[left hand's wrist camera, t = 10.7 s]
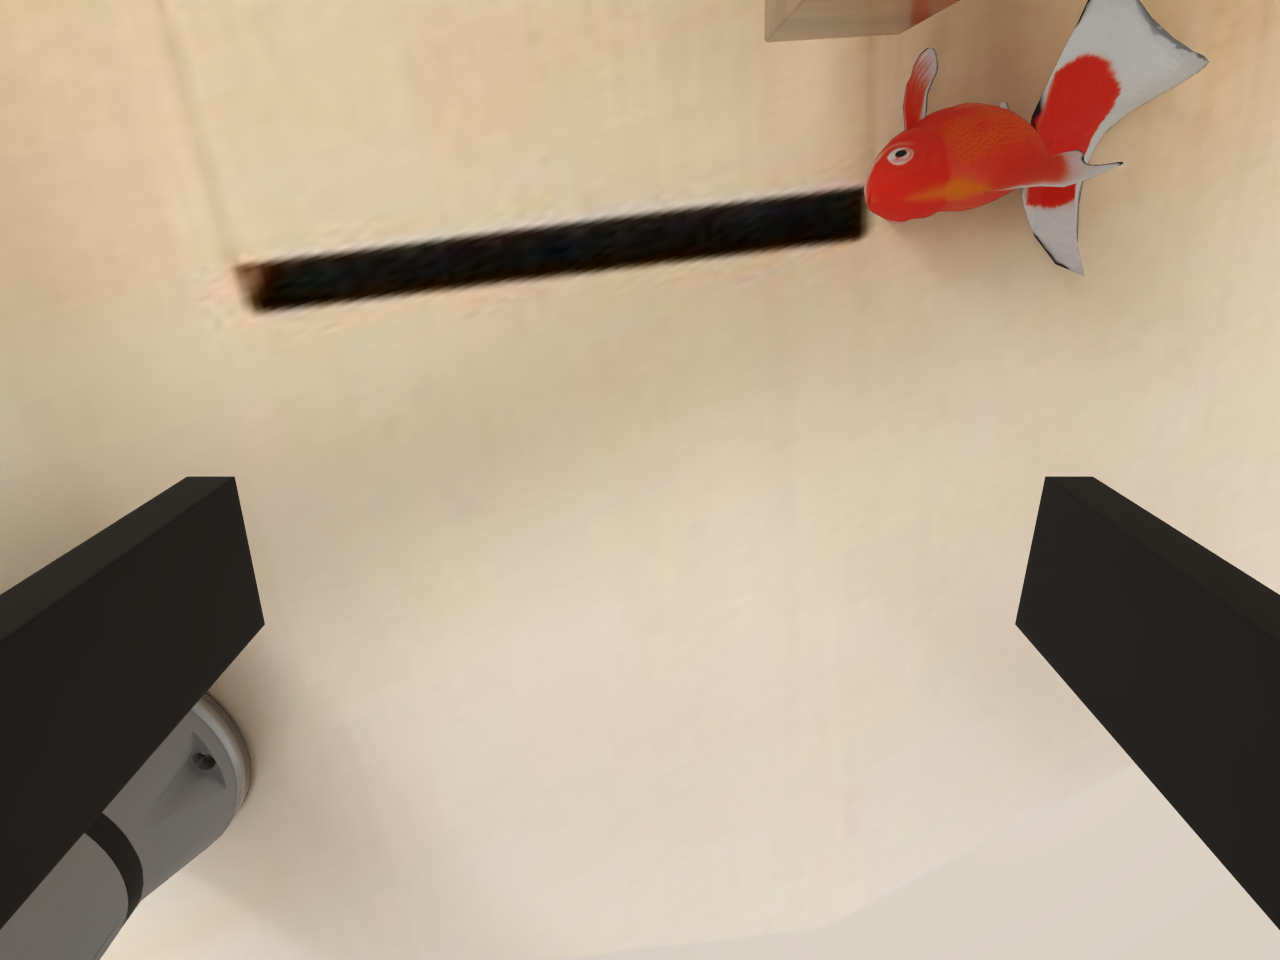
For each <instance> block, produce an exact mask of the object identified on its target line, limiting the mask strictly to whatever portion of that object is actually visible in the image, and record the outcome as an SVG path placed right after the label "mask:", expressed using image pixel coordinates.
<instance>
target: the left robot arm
mask: <svg viewBox="0 0 1280 960" xmlns="http://www.w3.org/2000/svg"><path fill="white" fill-rule="evenodd" d="M264 624H265V623H264V618H263V613H262V608H261V604H260V599H259V594H258V589H257V584H256V579H255V574H254V569H253V564H252V560H251V555H250V550H249V545H248V540H247V535H246V530H245V525H244V520H243V516H242V511H241V506H240V501H239V496H238V491H237V486H236V481H235V477H186V478H184V479H183V480H181V481H180V482H178V483H177V484H175V485H173V486H172V487H170V488H169V489H167V490H165V491H164V492H162V493H161V494H159V495H158V496H156V497H154V498H153V499H151V500H150V501H148V502H147V503H145V504H143V505H142V506H140V507H139V508H137V509H135V510H134V511H132V512H131V513H129V514H128V515H126V516H124V517H123V518H121V519H120V520H118V521H116V522H115V523H113V524H112V525H110V526H109V527H107V528H105V529H104V530H102V531H101V532H99V533H98V534H96V535H94V536H93V537H91V538H90V539H88V540H86V541H85V542H83V543H82V544H80V545H79V546H77V547H75V548H74V549H72V550H71V551H69V552H67V553H66V554H64V555H63V556H61V557H60V558H58V559H56V560H55V561H53V562H52V563H50V564H48V565H47V566H45V567H44V568H42V569H41V570H39V571H37V572H36V573H34V574H33V575H31V576H30V577H28V578H26V579H25V580H23V581H22V582H20V583H18V584H17V585H15V586H14V587H12V588H11V589H9V590H7V591H6V592H4V593H3V594H1V595H0V960H100V959H101V957H102V956H103V954H104V953H105V951H106V950H107V948H108V947H109V946H110V944H111V943H112V941H113V940H114V938H115V937H116V935H117V934H118V932H119V931H120V929H121V928H122V927H123V925H124V924H125V922H126V921H127V919H128V918H129V917H130V915H131V914H132V912H133V911H134V909H135V908H136V907H137V905H138V904H139V903H140V901H141V900H142V899H144V898H145V897H146V896H147V895H149V894H150V893H151V892H152V891H154V890H155V889H156V888H158V887H159V886H160V885H161V884H163V883H164V882H165V881H166V880H168V879H169V878H170V877H171V876H173V875H174V874H175V873H176V872H178V871H179V870H180V869H181V868H183V867H184V866H185V865H186V864H188V863H189V862H190V861H191V860H193V859H194V858H195V857H196V856H198V855H199V854H200V853H201V852H203V851H204V850H205V849H206V848H208V847H209V846H210V845H211V844H212V843H213V842H214V841H215V840H217V839H218V838H219V837H220V836H221V835H222V833H223V832H224V831H225V830H226V828H227V827H228V825H229V824H230V822H231V821H232V819H233V818H234V816H235V815H236V813H237V812H238V810H239V808H240V807H241V805H242V803H243V802H244V799H245V797H246V795H247V791H248V788H249V783H250V762H249V756H248V752H247V749H246V746H245V743H244V741H243V739H242V737H241V735H240V733H239V731H238V729H237V727H236V726H235V724H234V723H233V721H232V720H231V719H230V717H229V716H228V715H227V713H226V712H225V711H224V710H223V709H222V708H221V707H220V706H219V705H218V704H217V703H216V702H215V701H214V700H213V699H212V698H211V697H210V696H209V695H207V694H206V692H207V690H208V689H209V688H210V687H211V686H212V685H213V683H214V682H215V681H216V680H217V679H218V678H219V677H220V675H221V674H222V673H223V672H224V671H225V670H226V668H227V667H228V666H229V665H230V664H231V663H232V661H233V660H234V659H235V658H236V657H237V656H238V655H239V653H240V652H241V651H242V650H243V649H244V648H245V646H246V645H247V644H248V643H249V642H250V641H251V640H252V638H253V637H254V636H255V635H256V634H257V633H258V631H259V630H260V629H261V628H262V627H263V626H264ZM1015 624H1016V626H1017V627H1018V628H1019V629H1020V630H1021V631H1022V633H1023V634H1024V635H1025V636H1026V637H1027V638H1028V640H1029V641H1030V642H1031V643H1032V644H1033V645H1034V646H1035V648H1036V649H1037V650H1038V651H1039V652H1040V653H1041V655H1042V656H1043V657H1044V658H1045V659H1046V660H1047V661H1048V663H1049V664H1050V665H1051V666H1052V667H1053V668H1054V670H1055V671H1056V672H1057V673H1058V674H1059V675H1060V677H1061V678H1062V679H1063V680H1064V681H1065V682H1066V683H1067V685H1068V686H1069V687H1070V688H1071V689H1072V690H1073V692H1074V693H1075V694H1076V695H1077V696H1078V697H1079V698H1080V700H1081V701H1082V702H1083V703H1084V704H1085V705H1086V707H1087V708H1088V709H1089V710H1090V711H1091V712H1092V714H1093V715H1094V716H1095V717H1096V718H1097V719H1098V720H1099V722H1100V723H1101V724H1102V725H1103V726H1104V727H1105V729H1106V730H1107V731H1108V732H1109V733H1110V734H1111V735H1112V737H1113V738H1114V739H1115V740H1116V741H1117V742H1118V744H1119V745H1120V746H1121V747H1122V748H1123V749H1124V751H1125V752H1126V753H1127V754H1128V755H1129V756H1130V757H1131V759H1132V760H1133V761H1134V762H1135V763H1136V764H1137V766H1138V767H1139V768H1140V769H1141V770H1142V771H1143V772H1144V774H1145V775H1146V776H1147V777H1148V778H1149V779H1150V781H1151V782H1152V783H1153V784H1154V785H1155V786H1156V787H1157V789H1158V790H1159V791H1160V792H1161V793H1162V794H1163V796H1164V797H1165V798H1166V799H1167V800H1168V801H1169V803H1170V804H1171V805H1172V806H1173V807H1174V808H1175V809H1176V811H1177V812H1178V813H1179V814H1180V815H1181V816H1182V818H1183V819H1184V820H1185V821H1186V822H1187V823H1188V824H1189V826H1190V827H1191V828H1192V829H1193V830H1194V831H1195V833H1196V834H1197V835H1198V836H1199V837H1200V838H1201V839H1202V841H1203V842H1204V843H1205V844H1206V845H1207V846H1208V848H1209V849H1210V850H1211V851H1212V852H1213V853H1214V854H1215V856H1216V857H1217V858H1218V859H1219V860H1220V861H1221V863H1222V864H1223V865H1224V866H1225V867H1226V868H1227V870H1228V871H1229V872H1230V873H1231V874H1232V875H1233V877H1234V878H1235V879H1236V880H1237V881H1238V882H1239V883H1240V885H1241V886H1242V887H1243V888H1244V889H1245V890H1246V892H1247V893H1248V894H1249V895H1250V896H1251V897H1252V898H1253V900H1254V901H1255V902H1256V903H1257V904H1258V905H1259V907H1260V908H1261V909H1262V910H1263V911H1264V912H1265V914H1266V915H1267V916H1268V917H1269V918H1270V919H1271V920H1272V922H1273V923H1274V924H1275V925H1276V926H1277V927H1278V929H1279V930H1280V595H1279V594H1277V593H1276V592H1274V591H1273V590H1271V589H1269V588H1268V587H1266V586H1265V585H1263V584H1262V583H1260V582H1258V581H1257V580H1255V579H1254V578H1252V577H1250V576H1249V575H1247V574H1246V573H1244V572H1243V571H1241V570H1239V569H1238V568H1236V567H1235V566H1233V565H1232V564H1230V563H1228V562H1227V561H1225V560H1224V559H1222V558H1220V557H1219V556H1217V555H1216V554H1214V553H1213V552H1211V551H1209V550H1208V549H1206V548H1205V547H1203V546H1201V545H1200V544H1198V543H1197V542H1195V541H1194V540H1192V539H1190V538H1189V537H1187V536H1186V535H1184V534H1182V533H1181V532H1179V531H1178V530H1176V529H1175V528H1173V527H1171V526H1170V525H1168V524H1167V523H1165V522H1164V521H1162V520H1160V519H1159V518H1157V517H1156V516H1154V515H1152V514H1151V513H1149V512H1148V511H1146V510H1145V509H1143V508H1141V507H1140V506H1138V505H1137V504H1135V503H1133V502H1132V501H1130V500H1129V499H1127V498H1126V497H1124V496H1122V495H1121V494H1119V493H1118V492H1116V491H1115V490H1113V489H1111V488H1110V487H1108V486H1107V485H1105V484H1103V483H1102V482H1100V481H1099V480H1097V479H1096V478H1094V477H1045V481H1044V486H1043V491H1042V496H1041V501H1040V506H1039V511H1038V516H1037V520H1036V525H1035V530H1034V535H1033V540H1032V545H1031V550H1030V555H1029V560H1028V564H1027V569H1026V574H1025V579H1024V584H1023V589H1022V594H1021V599H1020V604H1019V608H1018V613H1017V618H1016V623H1015Z"/></svg>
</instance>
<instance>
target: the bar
mask: <svg viewBox="0 0 1280 960" xmlns="http://www.w3.org/2000/svg"><path fill="white" fill-rule="evenodd" d="M957 1H959V0H765V41H766V42H778V41H794V40H811V39H827V38H844V37H861V36H877V35H894V34H900V33H902V32H904V31H906V30H907V29H909V28H911V27H913V26H915V25H916V24H918V23H920V22H922V21H923V20H925V19H927V18H929V17H931V16H932V15H934V14H936V13H938V12H940V11H941V10H943V9H945V8H947V7H948V6H950V5H952V4H954V3H956V2H957Z"/></svg>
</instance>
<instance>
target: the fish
mask: <svg viewBox="0 0 1280 960" xmlns="http://www.w3.org/2000/svg"><path fill="white" fill-rule="evenodd" d="M1208 62H1209V61H1208V60H1207V59H1206V58H1205V57H1204V56H1203V55H1201V54H1198V53H1196V52H1194V51H1192V50H1191V49H1189V48H1188V47H1186V46H1185V45H1183V44H1182V43H1180V42H1179V41H1177V40H1176V39H1174V38H1173V37H1172V36H1171V35H1170V34H1169V33H1168V32H1167V31H1166V30H1164V29H1163V28H1162V27H1161V26H1160V25H1159V24H1158V23H1157V22H1156V21H1155V20H1154V19H1153V18H1152V17H1151V16H1150V15H1149V13H1148V12H1147V10H1146V9H1145V8H1144V6H1143V5H1142V3H1141V2H1140V1H1139V0H1088V2H1087V4H1086V6H1085V8H1084V10H1083V13H1082V15H1081V17H1080V19H1079V22H1078V23H1077V25H1076V27H1075V29H1074V31H1073V33H1072V35H1071V37H1070V39H1069V40H1068V42H1067V44H1066V46H1065V48H1064V50H1063V52H1062V54H1061V56H1060V58H1059V60H1058V62H1057V64H1056V67H1055V69H1054V71H1053V73H1052V75H1051V77H1050V79H1049V81H1048V83H1047V85H1046V88H1045V90H1044V92H1043V94H1042V96H1041V98H1040V100H1039V103H1038V105H1037V107H1036V109H1035V111H1034V113H1033V115H1032V120H1031V125H1030V124H1029V123H1028V122H1026V121H1025V120H1024V119H1022V118H1021V117H1019V116H1018V115H1016V114H1015V113H1013V112H1011V111H1010V110H1009V109H1008V105H1007V102H1002V103H1001V105H1000V107H997V106H992V105H986V104H978V103H966V104H960V105H957V106H953V107H949V108H945V109H942V110H939V111H936V112H934V113H931V114H929V115H927V116H926V111H927V96H928V92H929V89H930V86H931V84H932V82H933V80H934V77H935V75H936V73H937V69H938V62H937V56H936V52H935V50H934V49H931V48H927V49H926V50H924V51H923V52H922V53H921V54H920V55H919V57H918V59H917V61H916V63H915V64H914V67H913V71H912V74H911V77H910V79H909V81H908V83H907V85H906V89H905V96H904V104H903V113H904V125H905V131H903V132H902V133H900V134H899V135H897V136H896V137H895V138H893V139H892V140H891V141H890V142H889V144H888V145H887V146H886V147H885V148H884V149H883V150H882V151H881V152H880V153H879V155H878V156H877V158H876V159H875V161H874V162H873V164H872V165H871V167H870V169H869V172H868V174H867V178H866V182H865V188H864V194H865V202H866V204H867V206H868V208H869V210H871V211H872V212H873V213H875V214H877V215H879V216H881V217H882V218H884V219H886V220H887V221H889V222H891V223H902V222H905V221H908V220H911V219H917V218H925V217H928V216H931V215H933V214H934V213H936V212H938V211H965V210H969V209H973V208H976V207H979V206H982V205H984V204H987V203H989V202H991V201H993V200H996V199H998V198H1000V197H1002V196H1004V195H1005V194H1007V193H1009V192H1011V191H1012V190H1014V189H1016V188H1021V192H1022V198H1023V205H1024V209H1025V212H1026V215H1027V219H1028V222H1029V224H1030V226H1031V229H1032V231H1033V234H1034V236H1035V237H1036V239H1037V240H1038V241H1039V243H1040V244H1041V245H1042V247H1043V248H1044V249H1045V251H1046V252H1047V253H1048V255H1049V256H1050V257H1051V259H1052V260H1053V261H1054V263H1055V264H1057V265H1059V266H1062V267H1064V268H1067V269H1069V270H1071V271H1074V272H1076V273H1079V274H1081V275H1084V272H1083V268H1082V264H1081V260H1080V256H1079V249H1078V212H1079V200H1080V195H1081V189H1082V184H1083V181H1085V180H1088V179H1090V178H1093V177H1095V176H1097V175H1099V174H1101V173H1104V172H1106V171H1108V170H1110V169H1113V168H1115V167H1117V166H1119V165H1121V164H1123V162H1117V163H1110V164H1103V165H1090V164H1088V162H1089V160H1090V157H1091V155H1092V153H1093V151H1094V149H1095V147H1096V146H1097V144H1098V142H1099V141H1100V139H1101V138H1102V136H1103V135H1104V134H1105V133H1106V132H1107V131H1108V130H1109V129H1110V128H1111V127H1112V126H1113V125H1115V124H1116V123H1117V122H1118V121H1120V120H1121V119H1122V118H1123V117H1125V116H1126V115H1127V114H1129V113H1130V112H1131V111H1133V110H1134V109H1136V108H1137V107H1139V106H1141V105H1143V104H1144V103H1146V102H1148V101H1150V100H1152V99H1154V98H1155V97H1157V96H1159V95H1161V94H1163V93H1164V92H1166V91H1168V90H1170V89H1172V88H1173V87H1175V86H1177V85H1178V84H1180V83H1182V82H1183V81H1185V80H1187V79H1188V78H1190V77H1191V76H1193V75H1195V74H1196V73H1198V72H1199V71H1200V70H1202V69H1203V68H1204V67H1205V66H1206V65H1207V64H1208Z"/></svg>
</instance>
